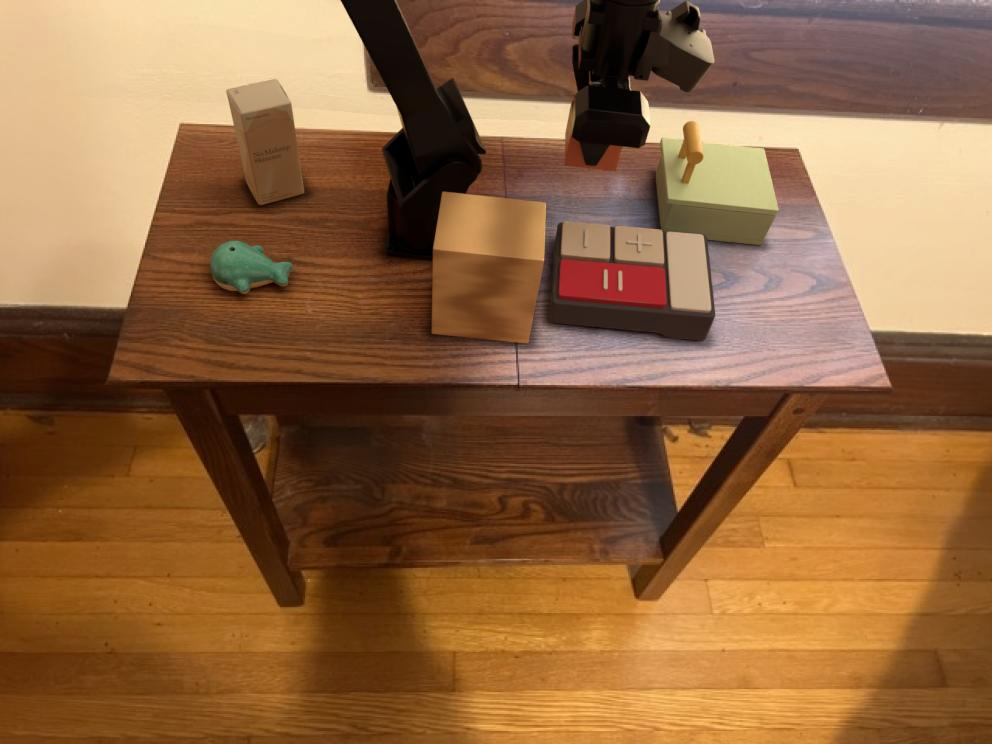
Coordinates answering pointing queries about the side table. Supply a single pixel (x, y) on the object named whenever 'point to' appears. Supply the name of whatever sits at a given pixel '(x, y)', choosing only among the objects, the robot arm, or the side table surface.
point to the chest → (711, 219)
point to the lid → (716, 174)
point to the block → (576, 157)
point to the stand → (487, 266)
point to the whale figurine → (246, 267)
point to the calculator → (632, 280)
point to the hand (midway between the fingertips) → (590, 147)
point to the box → (266, 140)
